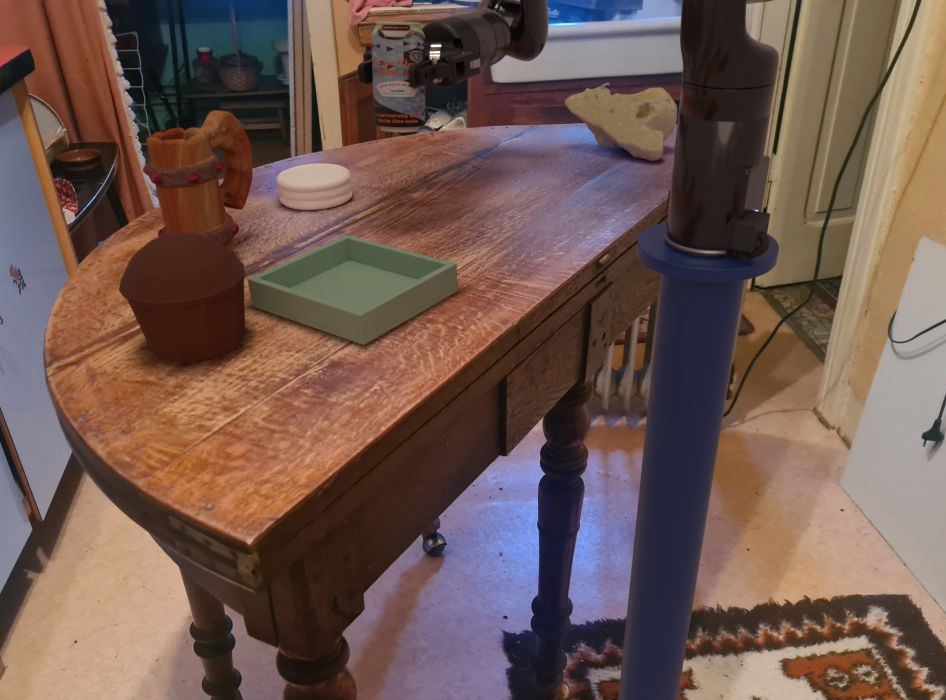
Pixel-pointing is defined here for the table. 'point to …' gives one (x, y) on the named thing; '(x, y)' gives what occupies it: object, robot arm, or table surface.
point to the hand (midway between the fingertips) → (386, 76)
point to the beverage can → (397, 76)
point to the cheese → (627, 119)
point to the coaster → (314, 186)
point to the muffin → (186, 296)
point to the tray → (354, 287)
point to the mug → (201, 177)
